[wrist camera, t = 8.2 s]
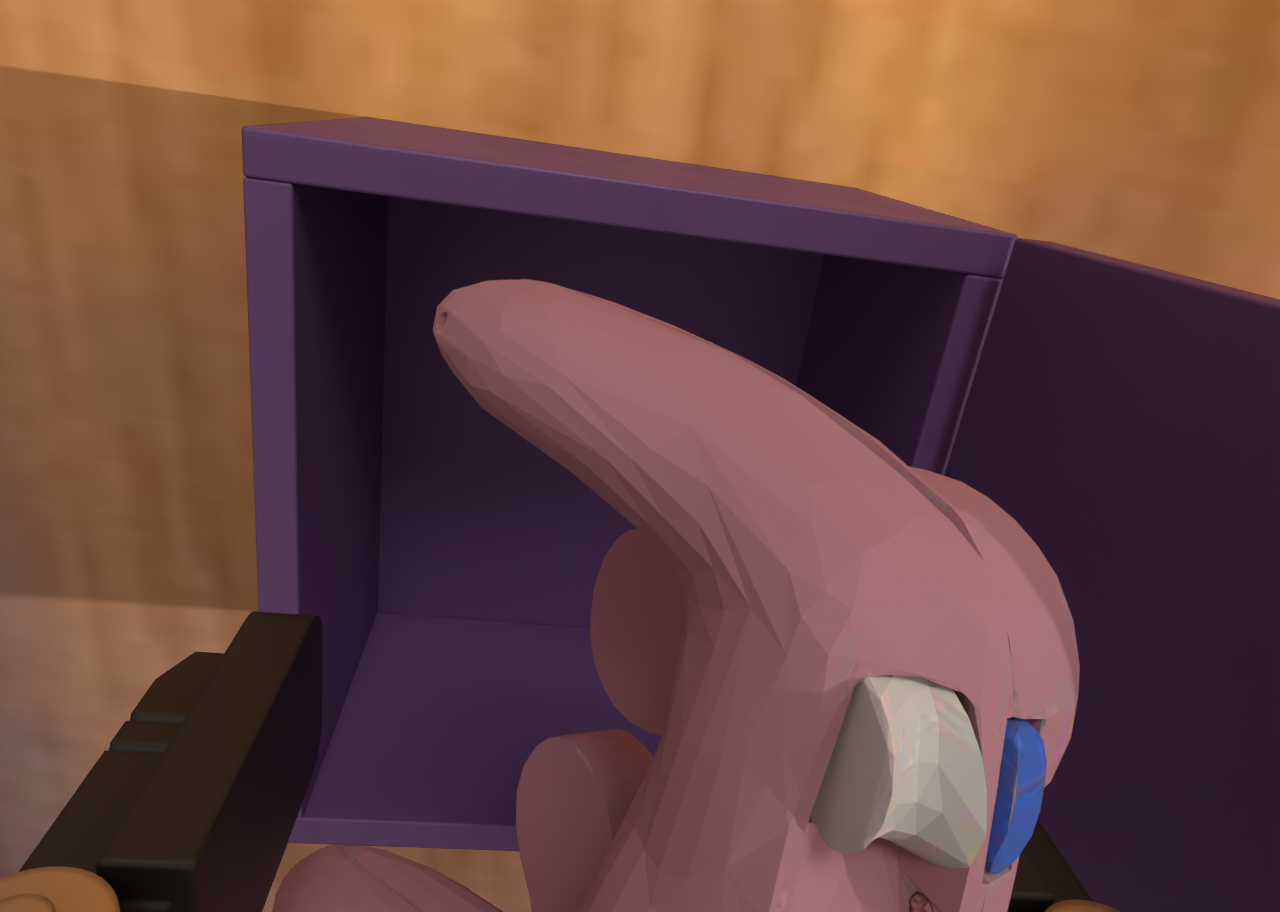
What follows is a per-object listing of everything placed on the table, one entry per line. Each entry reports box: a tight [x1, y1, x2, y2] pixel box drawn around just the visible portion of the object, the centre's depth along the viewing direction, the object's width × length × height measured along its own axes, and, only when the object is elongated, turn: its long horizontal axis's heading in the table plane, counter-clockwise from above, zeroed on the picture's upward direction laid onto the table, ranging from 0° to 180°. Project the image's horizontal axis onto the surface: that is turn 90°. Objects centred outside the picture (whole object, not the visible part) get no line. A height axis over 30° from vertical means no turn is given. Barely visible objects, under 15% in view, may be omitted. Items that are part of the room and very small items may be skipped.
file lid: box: [944, 238, 1280, 912], centre depth 11 cm, size 14×16×1 cm
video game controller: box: [272, 279, 1080, 912], centre depth 9 cm, size 10×5×7 cm, turn 160°
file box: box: [242, 117, 1018, 851], centre depth 22 cm, size 14×16×9 cm
